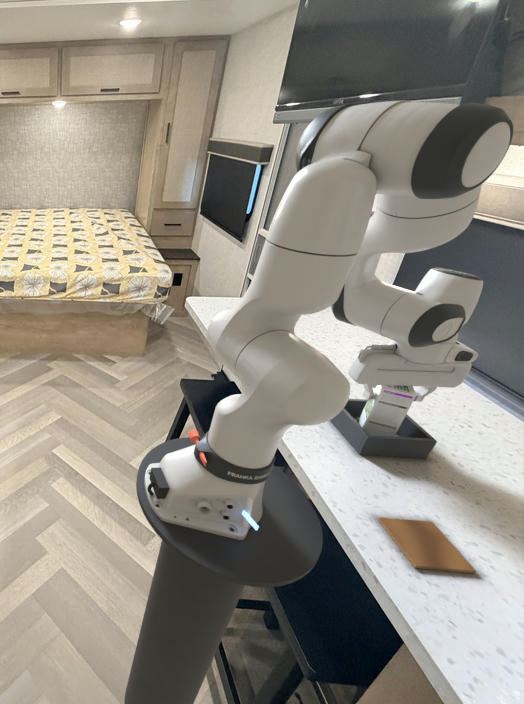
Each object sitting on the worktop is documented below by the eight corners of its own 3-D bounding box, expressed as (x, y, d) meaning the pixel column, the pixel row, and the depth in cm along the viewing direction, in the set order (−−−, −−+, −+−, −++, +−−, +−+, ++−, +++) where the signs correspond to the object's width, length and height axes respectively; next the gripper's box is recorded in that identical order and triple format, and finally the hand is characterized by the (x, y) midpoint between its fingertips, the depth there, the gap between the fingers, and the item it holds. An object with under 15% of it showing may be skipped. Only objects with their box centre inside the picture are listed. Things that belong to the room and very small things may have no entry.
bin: (358, 454, 87) (367, 437, 85) (324, 413, 99) (331, 397, 97) (426, 458, 86) (437, 441, 83) (383, 416, 98) (391, 400, 95)
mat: (414, 568, 65) (415, 565, 65) (377, 519, 73) (378, 517, 73) (474, 573, 64) (476, 571, 64) (430, 523, 72) (432, 521, 72)
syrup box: (390, 446, 89) (419, 395, 82) (357, 437, 92) (383, 386, 85) (386, 431, 93) (413, 381, 86) (354, 422, 96) (379, 373, 89)
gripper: (374, 351, 79) (349, 405, 86) (488, 355, 77) (453, 410, 84) (354, 336, 85) (332, 388, 91) (460, 339, 83) (430, 392, 89)
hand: (391, 398), depth 88 cm, fingers open, 8 cm apart
